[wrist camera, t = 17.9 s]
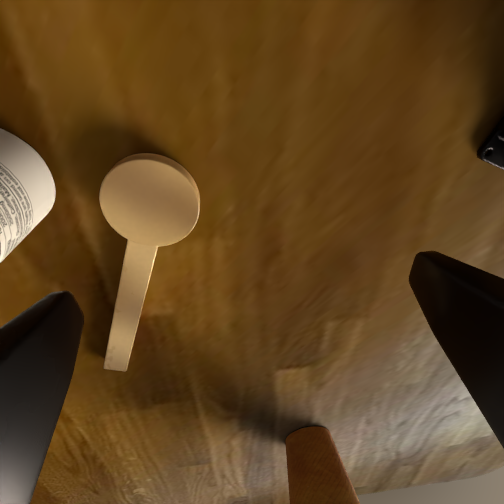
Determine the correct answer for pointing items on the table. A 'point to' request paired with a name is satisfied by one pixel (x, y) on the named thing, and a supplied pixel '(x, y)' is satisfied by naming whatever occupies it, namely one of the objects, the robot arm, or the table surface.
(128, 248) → the wooden spoon
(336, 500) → the disposable coffee cup
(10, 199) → the energy drink can
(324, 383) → the table surface
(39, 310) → the robot arm
